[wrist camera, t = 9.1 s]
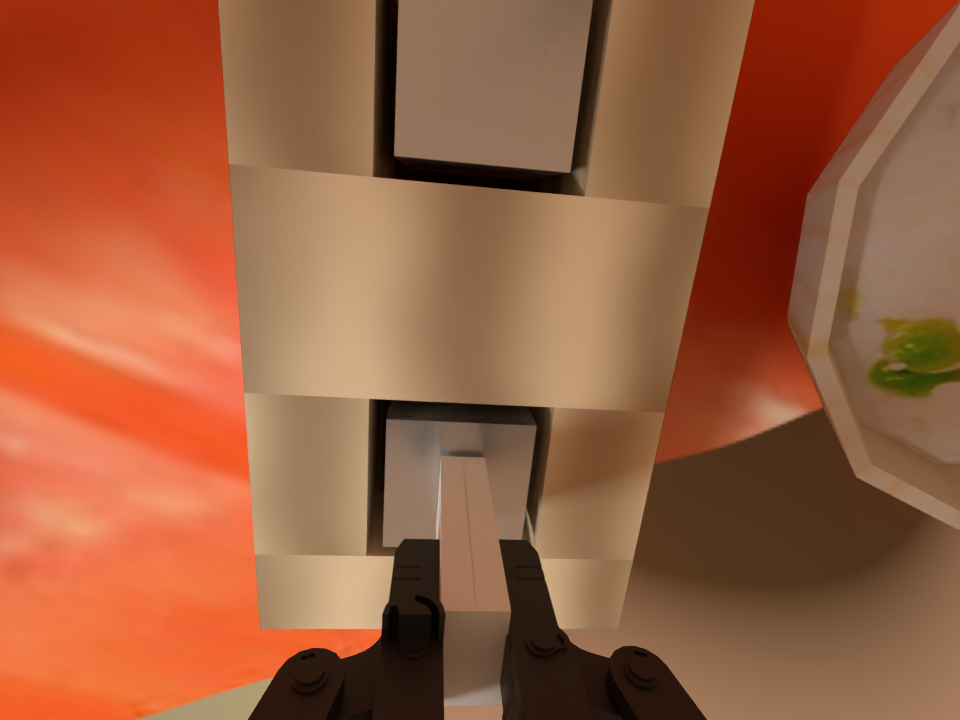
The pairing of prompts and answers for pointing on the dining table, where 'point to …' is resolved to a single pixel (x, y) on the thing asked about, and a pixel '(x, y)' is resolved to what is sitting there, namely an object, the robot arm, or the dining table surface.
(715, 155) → the socket block
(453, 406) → the far peg
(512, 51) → the near peg
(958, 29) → the bowl
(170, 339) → the dining table surface
